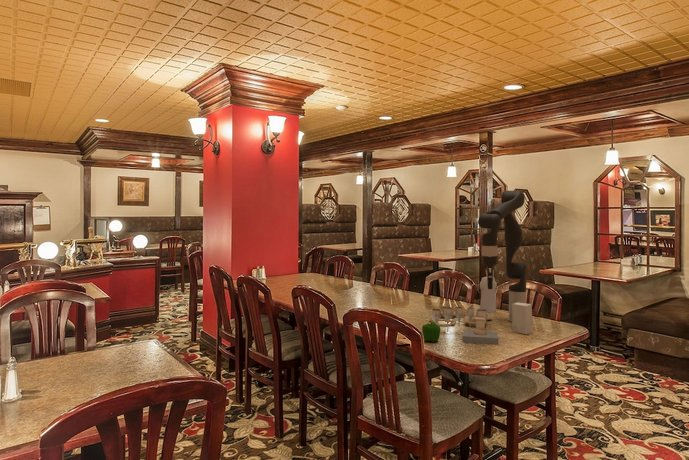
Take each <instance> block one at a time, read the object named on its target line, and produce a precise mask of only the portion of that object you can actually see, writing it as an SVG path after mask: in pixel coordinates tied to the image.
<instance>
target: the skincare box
mask: <svg viewBox="0 0 689 460" xmlns="http://www.w3.org/2000/svg"><path fill="white" fill-rule="evenodd" d="M532 311H533V310H532V303H527V302H526V303H519V302H517V303H513V304H512V322H511V323H512V332H514V333H519V334H522V335H528V334H533V332H534V331H533V329H534V327H533V312H532Z"/></svg>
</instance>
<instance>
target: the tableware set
mask: <svg viewBox="0 0 689 460" xmlns="http://www.w3.org/2000/svg"><path fill="white" fill-rule="evenodd" d="M437 309H440V310H441V317H440V319H439V321H445V322H447V321H446V319H445V318H443V317H444V316H443V309H441V308H439V307H438V308H437ZM455 316H456V314H455V310H453V315H452V317H451V319H450V320H449V322H451V323H450V324H448V327H452V326H455V325H456V323H457V321H458V320H457V318H454V317H455ZM476 318H477V317H476V314H474V316H473V318H472V321H471V327H474V328H476ZM428 319H429V320H430V321H431V322H432V321H435V320H434V319H433V317H429V318H428ZM493 319H494V318H492V317H489V316H488V317H487V319H486V320H485V324H487V321H490V320H492V321H493ZM463 321H464V323H466V324H467V325H468V326H469V327H470V322H469V319H468V316H467V314H466V315H465V316H464V317H463ZM431 322H430V323H431ZM433 324H434V323H433ZM435 324H436V323H435ZM437 325H439V327H447V324H439V323H437ZM451 325H452V326H451Z"/></svg>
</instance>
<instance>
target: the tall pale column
mask: <svg viewBox="0 0 689 460" xmlns="http://www.w3.org/2000/svg"><path fill="white" fill-rule="evenodd" d="M497 283H498V282H496V280H495V276H494V277H493V289H488V285H487V277H486V276H484V277H481V280H480V282H479V289H480V300H479V301H480V308H479V309H484V310H486V311H487V314H489V313H497V299H496V294H497V293H496V292H497V285H498V284H497Z"/></svg>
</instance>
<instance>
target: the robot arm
mask: <svg viewBox="0 0 689 460" xmlns="http://www.w3.org/2000/svg"><path fill="white" fill-rule="evenodd" d="M500 198H501V199H500V201H501V203H499V204H497V205H495V206H494V207H493V208H492V209H490V210H487V211H486V212H483V213H481V214H480V215H479V217H478V219H477V224H478V226H479V227H480V228H482V229H490V231H489V232H486V233H483V234H482V236H481V264H482V265H483V266H486V267H485V275H486V276H485V277H487V285H488V289H493V277H494V278H495V276H494V274H495V268H494V267H493V266H497V265H498V264H499V257H498V256H499V253H498V252H499V250H498V249H499V248H498V235H499V232H500V231H499V230H500V227H501V223H502V220H503V226H504V227H503V229H504V230H503V231H504V232H503V234H504V245H505V273H506V277H507V278H508V279H511V280H512V279H513V280H519V281H518V282H516V283H512V284H510V285H509V286H508V321H509V322H511V323H513V322H512V304H513V303H517V302H519V303H526V304H527V274H528V269H527V268H528V267H527V264H526V263H525V262H515V261H514V262H513V258H514V257H515V256H514V255H516V252H517V251H518V250H519V248H520V247H521V245H522V244H523V229H522V226H521V225H520V224H519V222H518V221H517V220H516V218H515V216H514V215H513V212H515V211H516V210H519V209H520V208H521V207H523V206H524V203H525V199H526V197H525V193H524V192H523V191H521V190H503V192H502V193H501V197H500Z"/></svg>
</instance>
